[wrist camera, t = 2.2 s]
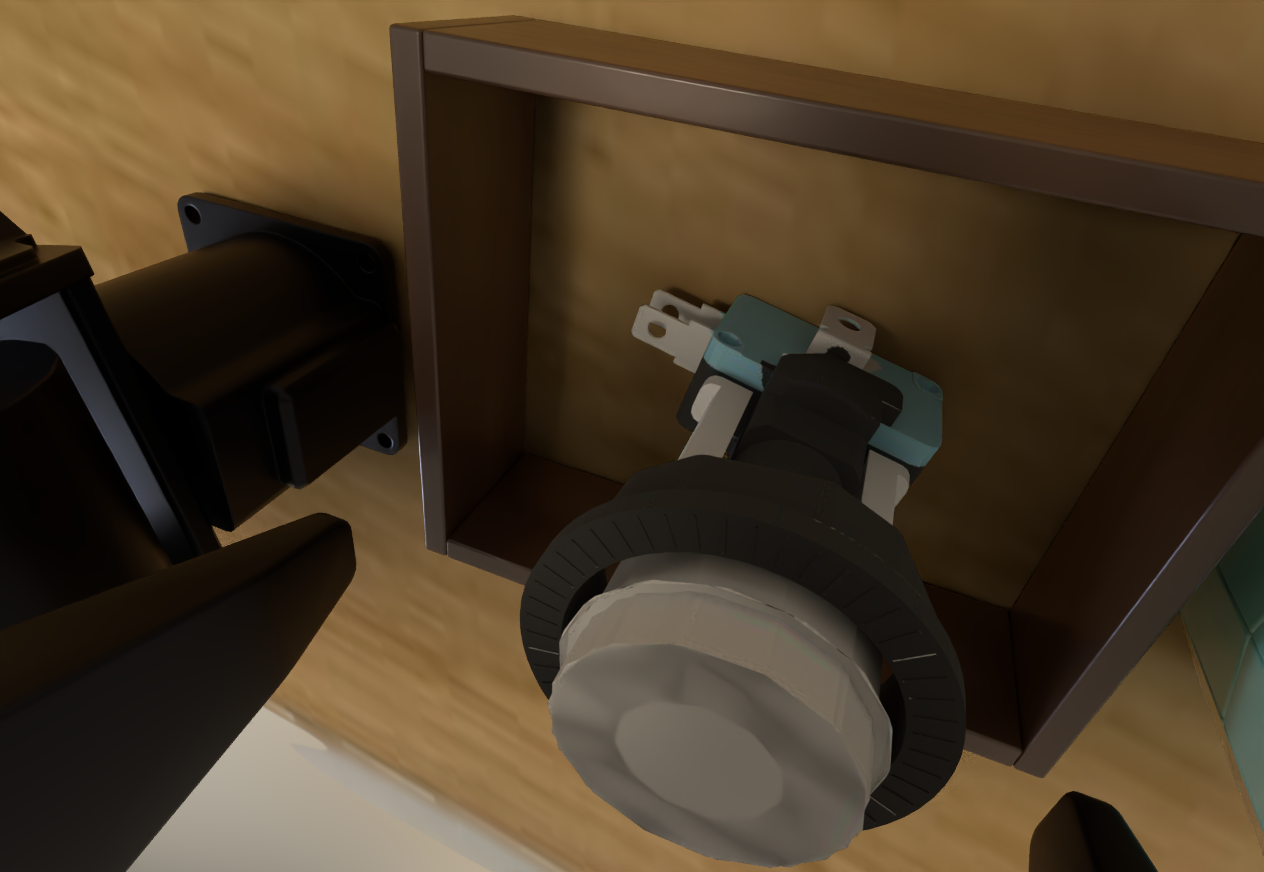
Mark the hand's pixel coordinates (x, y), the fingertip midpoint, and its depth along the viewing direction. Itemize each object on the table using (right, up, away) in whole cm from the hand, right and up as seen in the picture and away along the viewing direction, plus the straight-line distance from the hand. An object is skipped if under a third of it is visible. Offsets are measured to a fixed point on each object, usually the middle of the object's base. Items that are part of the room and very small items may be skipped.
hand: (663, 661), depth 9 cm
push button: (+3, +5, +7) cm, 9 cm away
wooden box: (+3, +4, +7) cm, 9 cm away
